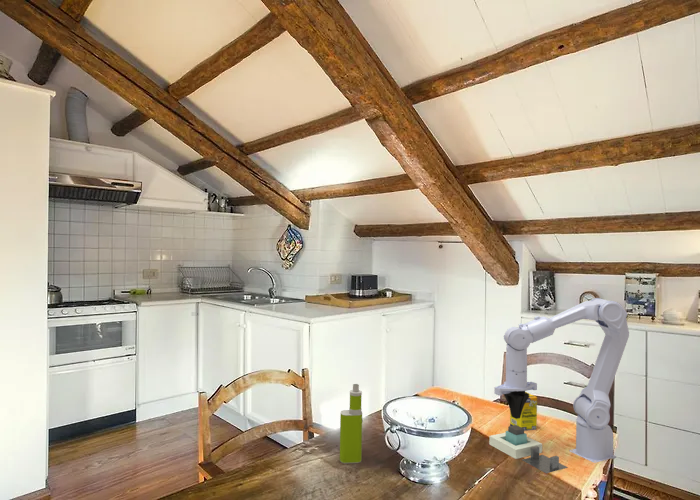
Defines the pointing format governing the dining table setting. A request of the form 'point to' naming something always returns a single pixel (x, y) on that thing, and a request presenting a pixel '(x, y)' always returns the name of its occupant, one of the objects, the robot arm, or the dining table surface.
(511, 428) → the plug
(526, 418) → the supplement box
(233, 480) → the dining table surface
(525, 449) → the port
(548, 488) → the dining table surface
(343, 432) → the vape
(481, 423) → the dining table surface
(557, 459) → the grey socket plate
